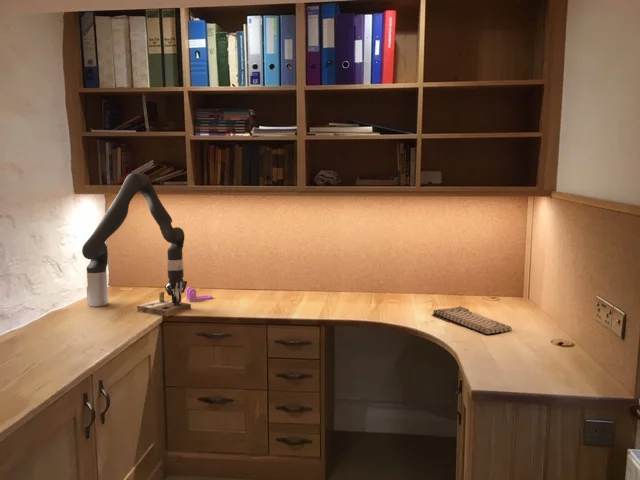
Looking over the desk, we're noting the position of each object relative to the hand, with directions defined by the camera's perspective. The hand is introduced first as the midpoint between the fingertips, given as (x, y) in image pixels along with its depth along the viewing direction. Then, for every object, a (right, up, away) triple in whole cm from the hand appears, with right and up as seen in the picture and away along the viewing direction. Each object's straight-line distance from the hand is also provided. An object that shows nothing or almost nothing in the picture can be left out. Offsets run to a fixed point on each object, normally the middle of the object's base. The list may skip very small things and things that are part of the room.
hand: (176, 302), depth 264 cm
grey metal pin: (0, -2, 0) cm, 2 cm away
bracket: (+7, -1, +21) cm, 22 cm away
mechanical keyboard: (+140, -7, -20) cm, 142 cm away
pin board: (-6, -4, 0) cm, 7 cm away
